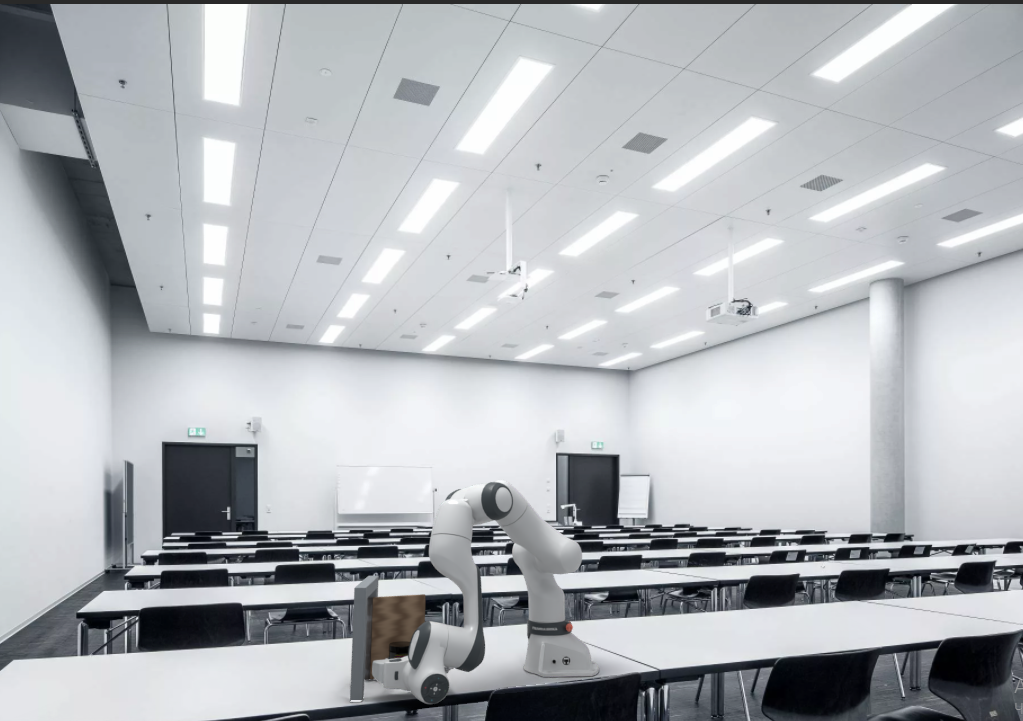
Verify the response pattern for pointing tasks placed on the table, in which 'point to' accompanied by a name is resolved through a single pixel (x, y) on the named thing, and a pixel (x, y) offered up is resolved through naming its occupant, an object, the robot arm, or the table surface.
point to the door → (390, 624)
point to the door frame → (360, 634)
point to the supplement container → (398, 649)
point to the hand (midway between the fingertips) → (404, 659)
